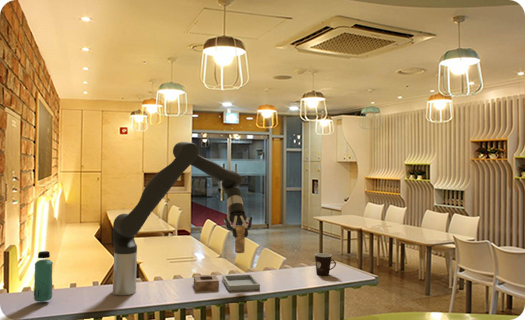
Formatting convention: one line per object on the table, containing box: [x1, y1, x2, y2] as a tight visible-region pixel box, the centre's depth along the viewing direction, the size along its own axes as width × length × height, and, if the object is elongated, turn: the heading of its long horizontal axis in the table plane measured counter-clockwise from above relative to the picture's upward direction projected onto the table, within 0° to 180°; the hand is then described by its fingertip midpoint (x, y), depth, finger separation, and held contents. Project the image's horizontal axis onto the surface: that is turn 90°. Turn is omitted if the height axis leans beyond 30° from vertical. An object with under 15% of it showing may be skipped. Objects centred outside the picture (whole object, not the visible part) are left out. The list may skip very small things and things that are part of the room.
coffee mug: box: [314, 252, 337, 277], centre depth 219 cm, size 12×9×10 cm
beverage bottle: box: [33, 250, 54, 302], centre depth 167 cm, size 6×7×20 cm
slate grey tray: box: [221, 273, 261, 293], centre depth 198 cm, size 14×17×2 cm
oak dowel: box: [234, 225, 246, 254], centre depth 198 cm, size 4×4×12 cm
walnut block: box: [193, 274, 220, 292], centre depth 193 cm, size 10×10×4 cm
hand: (241, 236), depth 196 cm, fingers closed on oak dowel, 4 cm apart
